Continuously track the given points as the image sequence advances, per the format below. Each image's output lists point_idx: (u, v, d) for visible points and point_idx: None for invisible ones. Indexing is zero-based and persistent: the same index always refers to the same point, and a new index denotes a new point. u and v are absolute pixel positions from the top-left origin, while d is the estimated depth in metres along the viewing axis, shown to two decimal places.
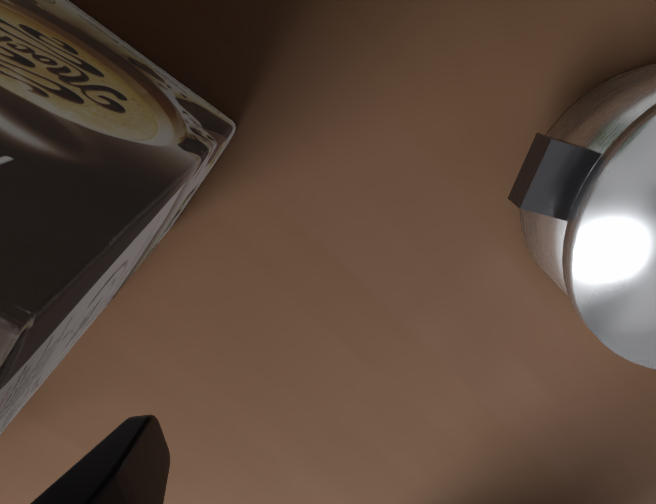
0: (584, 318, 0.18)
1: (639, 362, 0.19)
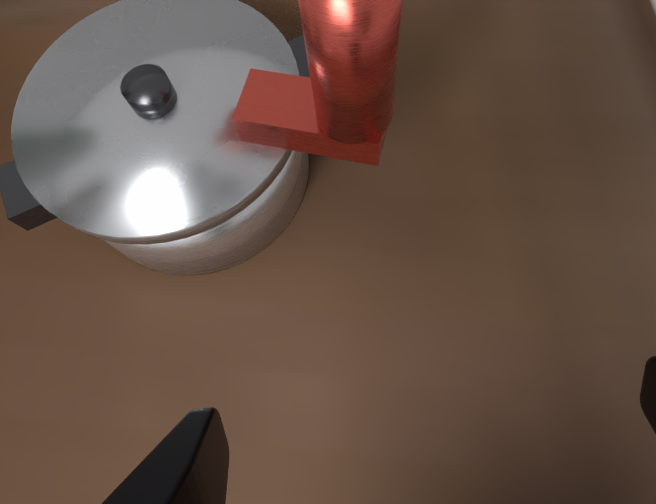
0: (96, 232, 0.17)
1: (186, 224, 0.17)
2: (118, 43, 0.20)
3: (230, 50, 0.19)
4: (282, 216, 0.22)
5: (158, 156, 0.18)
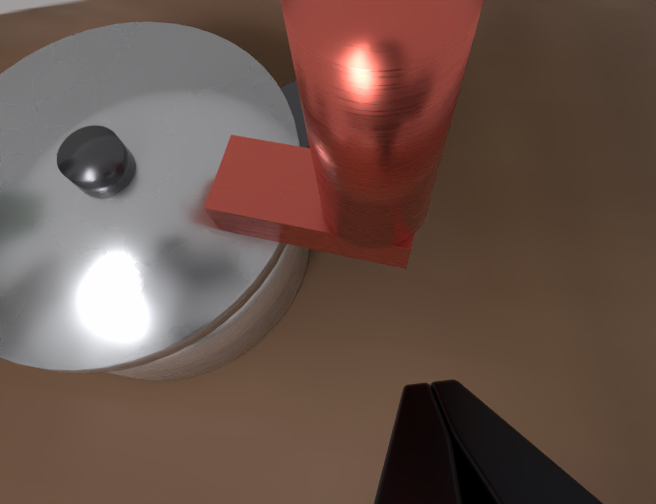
0: (17, 362, 0.12)
1: (142, 352, 0.12)
2: (63, 92, 0.15)
3: (207, 103, 0.15)
4: (277, 308, 0.17)
5: (108, 251, 0.13)
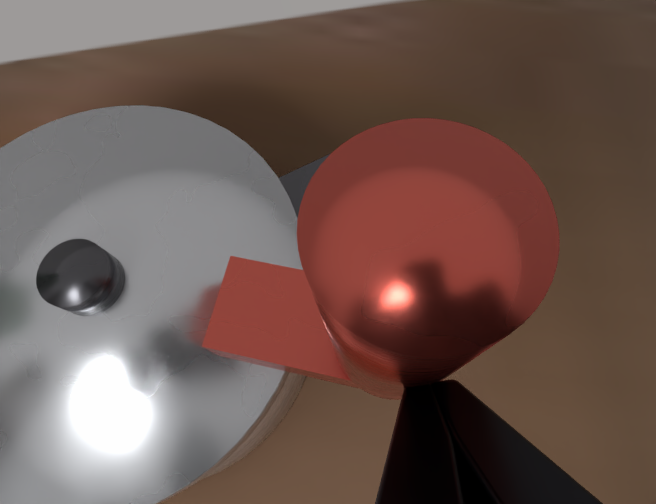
0: None
1: None
2: (44, 189, 0.14)
3: (203, 202, 0.14)
4: (280, 412, 0.16)
5: (95, 382, 0.12)
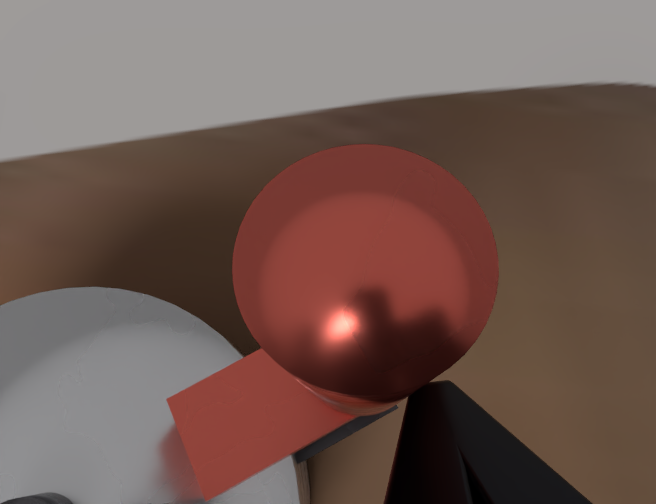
0: None
1: None
2: None
3: (96, 370, 0.12)
4: None
5: None
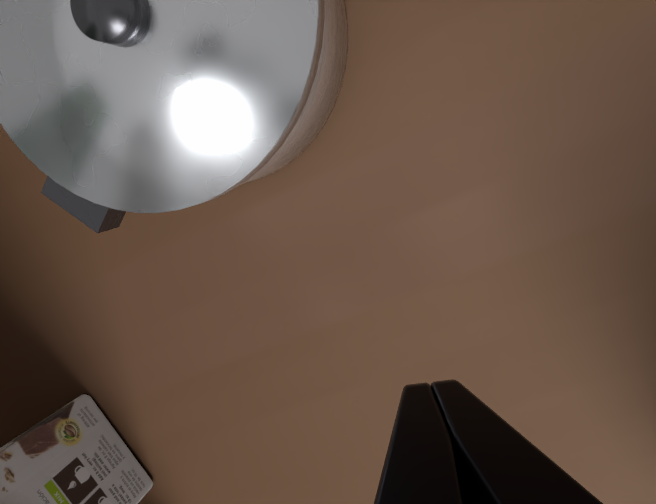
0: (286, 124, 0.13)
1: None
2: (29, 53, 0.15)
3: None
4: (340, 45, 0.17)
5: (206, 22, 0.13)
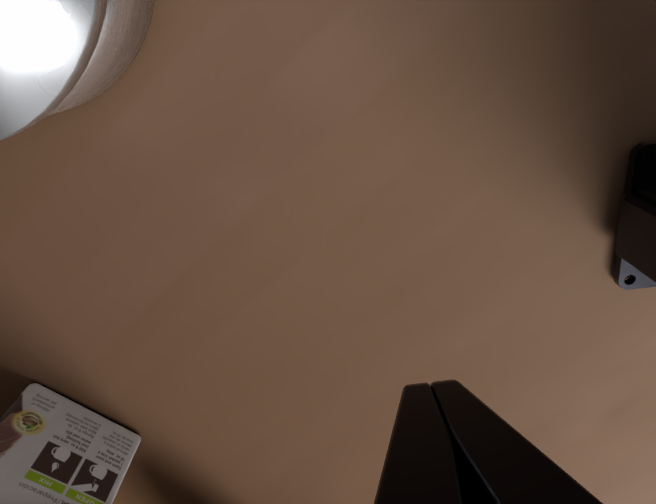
0: None
1: None
2: None
3: None
4: None
5: None
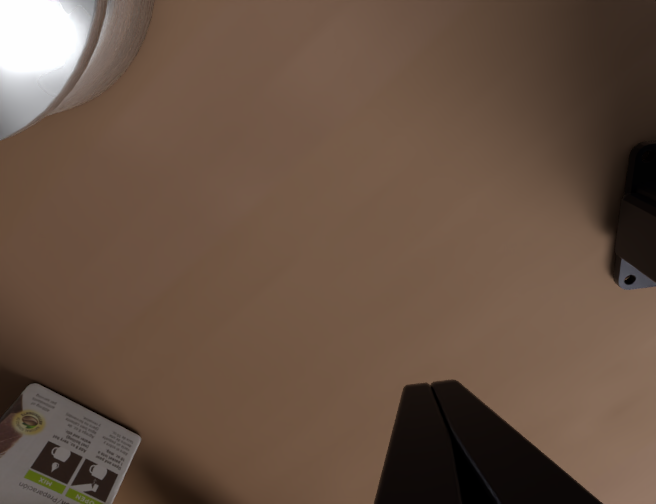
0: None
1: None
2: None
3: None
4: None
5: None
